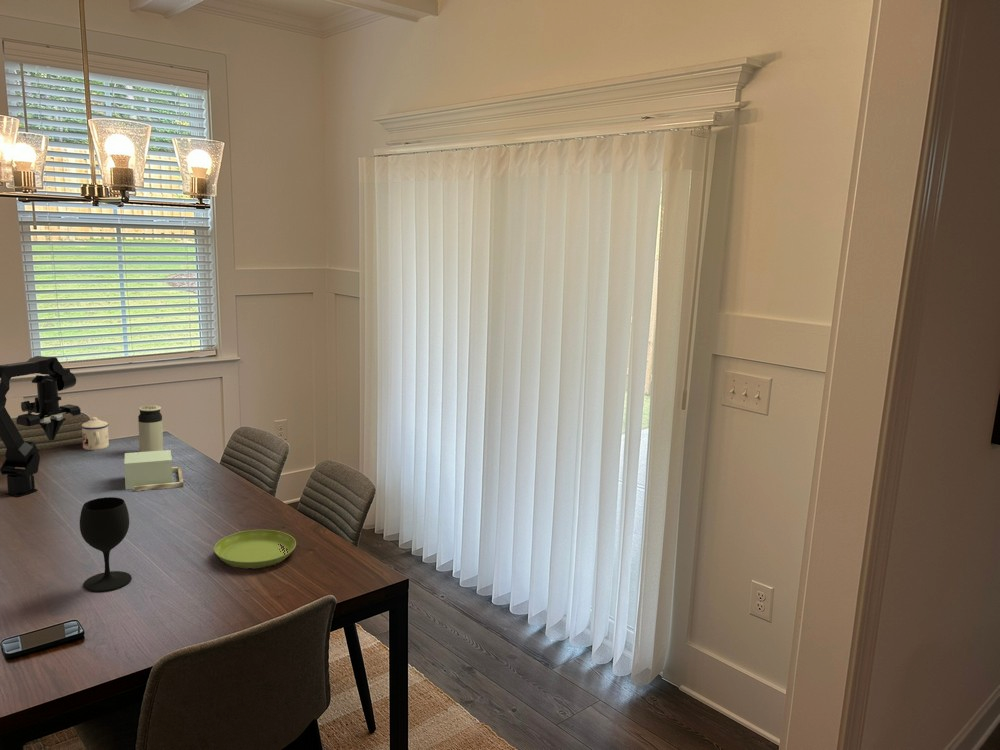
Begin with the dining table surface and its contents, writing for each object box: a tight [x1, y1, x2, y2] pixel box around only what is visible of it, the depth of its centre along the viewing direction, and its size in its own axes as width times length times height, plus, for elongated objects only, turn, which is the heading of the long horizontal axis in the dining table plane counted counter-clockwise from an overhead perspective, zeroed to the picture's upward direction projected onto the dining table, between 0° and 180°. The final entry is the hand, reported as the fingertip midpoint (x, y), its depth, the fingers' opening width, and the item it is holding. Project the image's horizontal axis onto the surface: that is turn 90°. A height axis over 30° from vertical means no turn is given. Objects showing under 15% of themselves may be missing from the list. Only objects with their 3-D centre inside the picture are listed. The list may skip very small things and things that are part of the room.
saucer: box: [213, 529, 297, 569], centre depth 196 cm, size 21×21×3 cm
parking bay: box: [133, 465, 184, 492], centre depth 248 cm, size 14×18×2 cm
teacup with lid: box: [80, 416, 110, 451], centre depth 278 cm, size 12×9×12 cm
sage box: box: [123, 449, 174, 490], centre depth 245 cm, size 14×12×9 cm
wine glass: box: [79, 496, 133, 593], centre depth 175 cm, size 10×10×20 cm
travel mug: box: [137, 404, 164, 452], centre depth 273 cm, size 8×8×18 cm
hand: (51, 440), depth 243 cm, fingers closed
